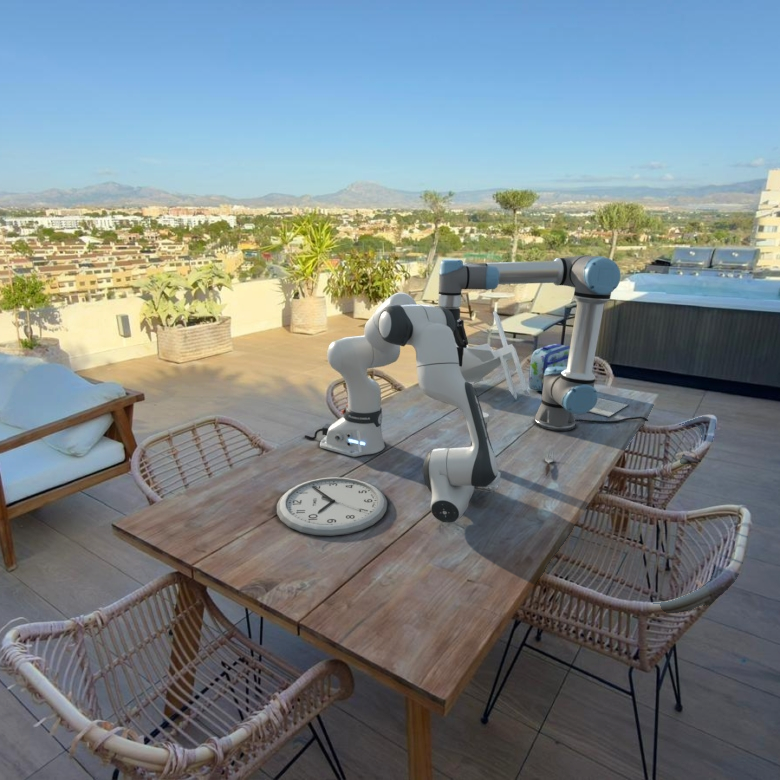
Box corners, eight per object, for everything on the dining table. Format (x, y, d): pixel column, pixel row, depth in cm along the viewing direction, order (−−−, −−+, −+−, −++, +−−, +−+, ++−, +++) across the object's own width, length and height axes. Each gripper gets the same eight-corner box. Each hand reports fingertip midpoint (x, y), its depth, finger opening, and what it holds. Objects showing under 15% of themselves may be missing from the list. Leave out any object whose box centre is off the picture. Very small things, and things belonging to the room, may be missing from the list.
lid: (482, 416, 168) (482, 410, 167) (492, 422, 163) (492, 416, 162) (468, 418, 166) (468, 412, 165) (477, 424, 161) (477, 418, 160)
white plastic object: (461, 429, 252) (437, 405, 227) (444, 352, 274) (420, 323, 250) (535, 404, 240) (518, 377, 215) (510, 326, 262) (492, 293, 237)
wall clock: (392, 527, 129) (268, 531, 127) (391, 533, 130) (269, 537, 127) (383, 473, 158) (282, 475, 155) (383, 478, 158) (282, 480, 156)
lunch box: (545, 396, 239) (550, 351, 232) (524, 391, 246) (528, 347, 240) (572, 385, 256) (577, 343, 250) (552, 380, 263) (557, 339, 257)
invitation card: (608, 416, 214) (573, 407, 224) (608, 416, 214) (573, 408, 224) (628, 404, 229) (594, 396, 238) (628, 405, 229) (594, 397, 238)
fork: (541, 476, 161) (542, 470, 161) (545, 456, 176) (546, 450, 175) (550, 477, 161) (551, 471, 160) (553, 457, 175) (554, 451, 174)
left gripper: (498, 480, 139) (505, 459, 151) (423, 467, 145) (436, 448, 157) (496, 501, 141) (503, 479, 153) (423, 487, 147) (435, 467, 159)
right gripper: (463, 302, 185) (460, 361, 191) (415, 309, 168) (413, 373, 174) (480, 305, 180) (476, 365, 186) (432, 312, 163) (430, 377, 169)
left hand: (469, 463), depth 155 cm, fingers open, 8 cm apart
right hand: (446, 369), depth 180 cm, fingers open, 13 cm apart
